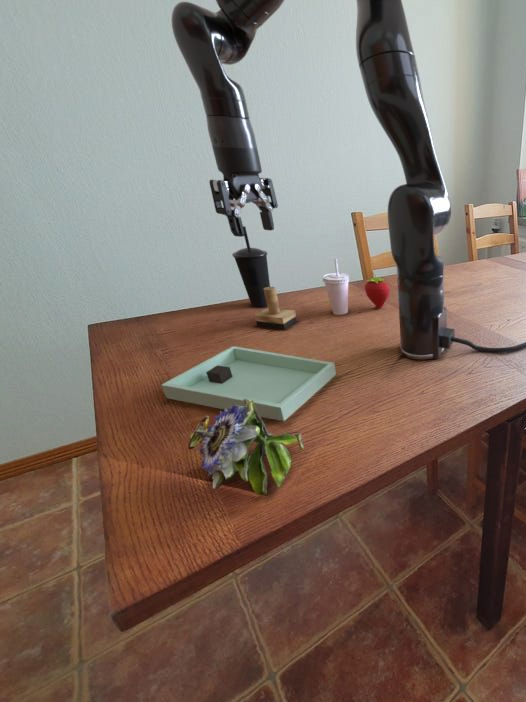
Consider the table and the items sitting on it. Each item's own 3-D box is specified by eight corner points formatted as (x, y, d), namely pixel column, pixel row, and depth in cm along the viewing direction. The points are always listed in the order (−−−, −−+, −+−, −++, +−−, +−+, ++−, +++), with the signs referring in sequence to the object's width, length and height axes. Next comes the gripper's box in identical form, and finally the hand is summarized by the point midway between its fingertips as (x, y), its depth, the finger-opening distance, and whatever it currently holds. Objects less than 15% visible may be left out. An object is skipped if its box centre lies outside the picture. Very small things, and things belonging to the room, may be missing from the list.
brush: (297, 321, 92) (290, 286, 87) (285, 329, 87) (277, 292, 83) (270, 319, 92) (262, 283, 88) (257, 326, 88) (247, 290, 84)
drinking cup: (284, 303, 102) (268, 226, 93) (259, 311, 96) (239, 230, 86) (264, 297, 105) (247, 223, 95) (239, 305, 99) (217, 226, 89)
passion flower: (232, 507, 50) (178, 433, 48) (307, 457, 56) (262, 389, 54) (233, 523, 41) (167, 432, 39) (323, 461, 47) (270, 380, 45)
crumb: (232, 376, 67) (229, 367, 66) (222, 383, 65) (219, 374, 64) (220, 374, 67) (217, 365, 66) (209, 382, 65) (205, 372, 64)
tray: (336, 378, 70) (334, 362, 68) (284, 425, 57) (280, 407, 56) (237, 360, 74) (232, 345, 72) (167, 401, 61) (160, 384, 59)
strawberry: (377, 314, 98) (374, 277, 93) (361, 307, 102) (357, 271, 98) (396, 309, 102) (394, 273, 97) (379, 302, 106) (376, 267, 102)
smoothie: (345, 318, 95) (338, 263, 88) (322, 315, 96) (313, 260, 89) (357, 309, 101) (351, 257, 94) (335, 306, 102) (328, 254, 95)
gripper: (221, 144, 65) (244, 240, 73) (277, 147, 77) (292, 229, 85) (185, 142, 66) (212, 237, 74) (245, 146, 79) (263, 226, 86)
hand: (254, 232), depth 80 cm, fingers open, 8 cm apart
